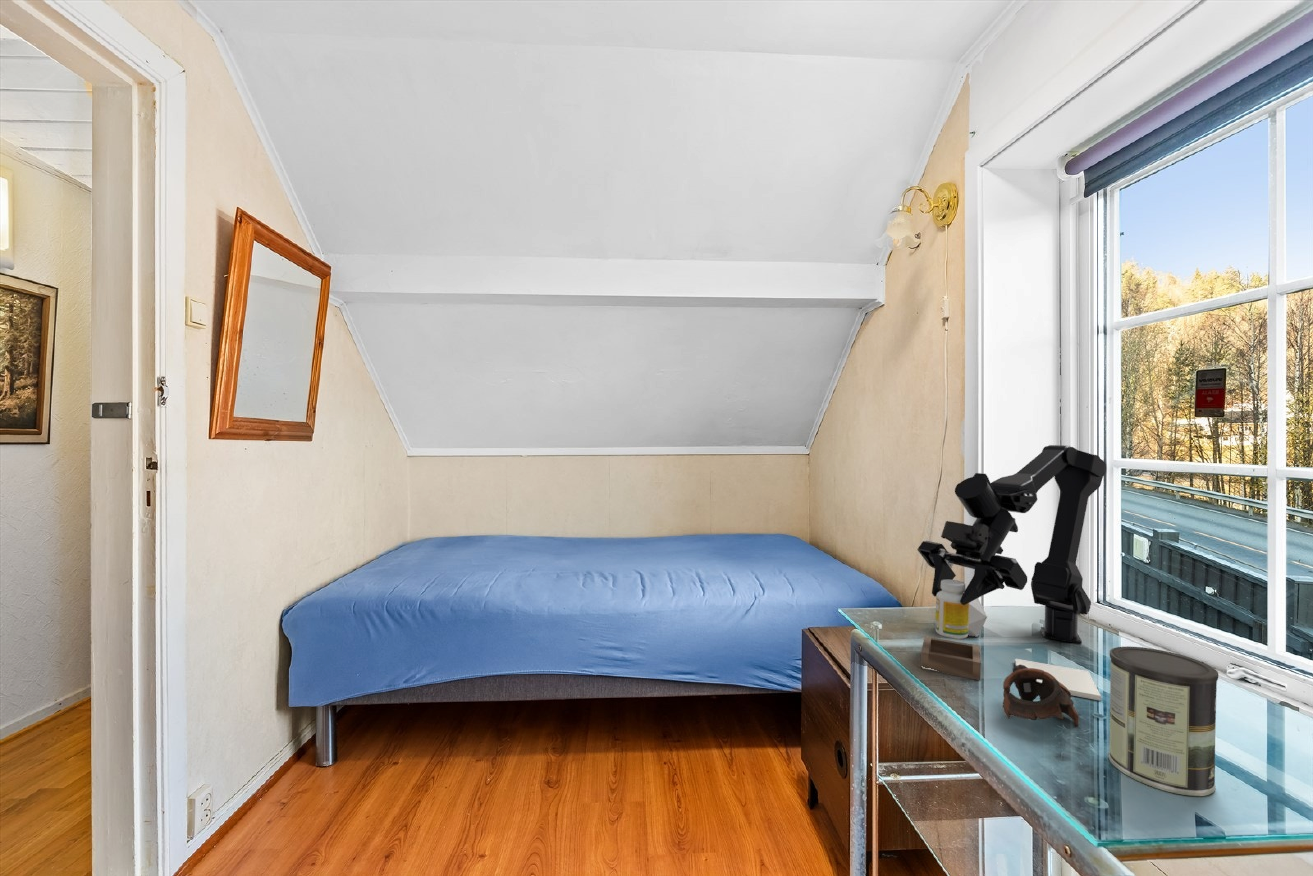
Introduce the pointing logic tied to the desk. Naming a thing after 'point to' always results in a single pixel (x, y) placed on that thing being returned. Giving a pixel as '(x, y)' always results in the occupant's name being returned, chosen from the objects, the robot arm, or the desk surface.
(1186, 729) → the coffee can
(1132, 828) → the desk surface
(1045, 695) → the broken brown clay pot
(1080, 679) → the off-white coaster
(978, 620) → the die
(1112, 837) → the desk surface
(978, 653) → the walnut holder
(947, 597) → the supplement bottle
